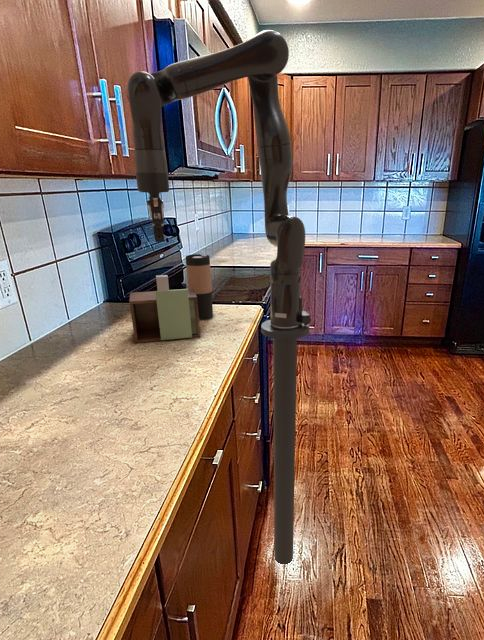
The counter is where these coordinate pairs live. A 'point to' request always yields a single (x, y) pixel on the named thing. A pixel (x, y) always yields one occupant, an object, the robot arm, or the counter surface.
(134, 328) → the cabinet
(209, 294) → the travel mug
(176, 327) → the sliding door
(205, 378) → the counter surface
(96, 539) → the counter surface
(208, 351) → the counter surface
